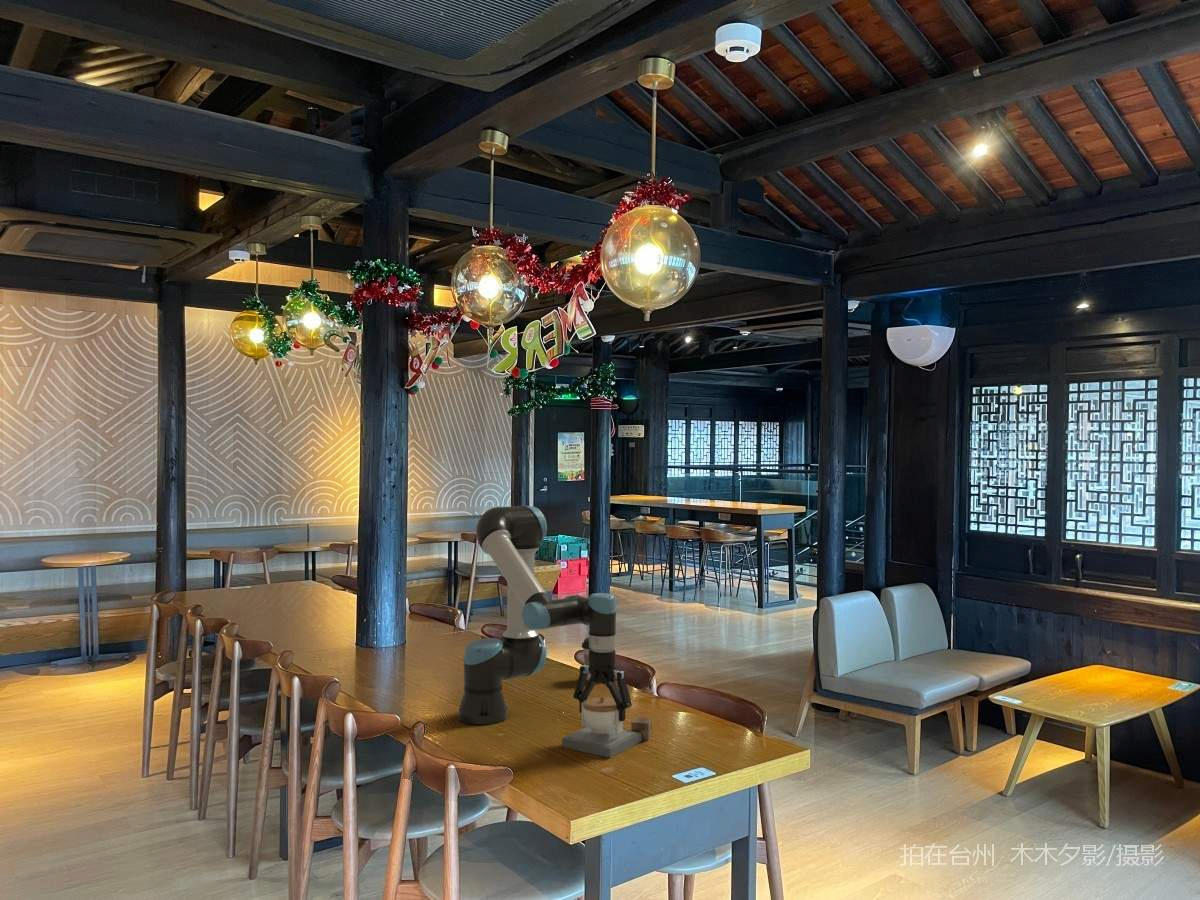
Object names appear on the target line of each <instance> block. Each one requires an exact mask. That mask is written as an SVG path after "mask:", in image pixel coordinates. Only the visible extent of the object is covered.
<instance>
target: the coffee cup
mask: <svg viewBox="0 0 1200 900" xmlns="http://www.w3.org/2000/svg"><path fill="white" fill-rule="evenodd" d="M581 648H582V651H583V658H584V665H588V666H589V665H590V663H589V651H590V650H591V649H590V648H589V636H588V637H586V638H584V640H583V642H582V643H581ZM590 677H591V674H590V672H588V675H587V679H586V681H587V680H589V679H590Z"/></svg>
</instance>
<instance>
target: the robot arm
mask: <svg viewBox="0 0 1200 900" xmlns="http://www.w3.org/2000/svg"><path fill="white" fill-rule="evenodd" d="M547 532H548V525H547V519H546V517H545V515H544V514H543V513H542V510H541V509H539V508H538V507H535V506H533V505H532V506H531V505H518V506H517V505H516V506H515V505H514V506H495V507H492V508H490V509H488V510H486V511H484V512H483V513H482V515H481V516H480V518H479V519H478V522H477V524H476V529H475V535H476V539H477V543H478V545H479V547H480V548H481V550H482V551H483V553H484V554H486V555H488V556H490V558H491V559H492V561H493V562H494V563H495V565H496V567H497V568H498V570H499V571H500V573H501V574H502V575H503V577H504V580H506V582H507V583H506V584H507V585H506V588H507V593H506V595H507V596H506V598H507V601H506V602H507V603H506V605H507V608H506V609H507V610H506V611H507V612H506V615H507V617H506V618H507V619H506V621H507V624H506V626H507V627H506V630H505V631H503V633H502V634H501V635H502V640H501V639H500V638H498V637H488V638H480V639H477V640H473V641H471V642H469V643H468V644H467V645H465V648H464V655H463V676H464V677H463V696H462V698H461V702H460V705H459V708H458V711H457V718H458V721H459V722H460V723H464V724H467V725H480V726H481V725H492V724H497V723H500V722H503V721H505V720H506V719H507V718H508V716H509V715H508V711H509V710H508V707H507V705H506V701H505V698H504V694H503V681H506V680H512V679H518V678H521V677H524V678H525V677H529V676H531V675H535V674H537V673H539V672H540V671H541V670H542V669H543V668H544V666H545V664H546V660H547V647H546V646H545V644H546V643H545V642H544V640H543V639H542V638H541V637H540V633H539V632H538V631H537V630H545V629H550V628H556V627H565V626H570V625H578V624H579V625H580V624H582V625H586V626H588V637H589V648H590V649H591V650H590V651H589V663H590V665H589V666H588V665H585V664H583V665H581V666H579V676H578V679H577V682H576V686H575V689H574V693H573V699H575V700H578V702H579V710H578V711H579V713H580V714H581V725H580V726H581V727H587V724H586V722H585V719H584V711H583V702H584V701H585V700H587V699H589V696H590V694H591V693H592V691H593V690H594V687H595V686H596V685H597V684H601V685H605V686H606V688H608V690H609V693H610V695H611V698H613V699H614V701H615V703H616V705H617V707H618V709H616V710H615V733H616V734H618V733H620V732H622V731H623V729H624V721H625V720H626V709H628V708H630V707H632V701H631V697H630V692H629V689H628V684H627V681H626V671H625V670H617V669H616V667H615V666H616V661H617V659H616V658H617V657H616V656H617V655H616V654H617V653H616V650H615V649H616V646H617V645H616V644H617V639H616V638H617V637H616V636H617V635H616V631H617V630H616V628H617V627H616V626H617V623H616V622H617V619H616V618H617V606H616V605H617V604H616V597H615V595H614V594H612V593H610V592H609V593H605V592H596V593H591V594H590V595H589V597H584V596H582V595H578V594H577V595H573V594H570V595H566V597H564V598H560V599H559V598H558V599H551V597H550V596H549V595H548V593H547V592H546V591H545V589H544V588H543V587H542V584H541V583H540V582H539V581H538V578H537V577H536V575H535V554H536V552H537V551H538V550H539V549H540V543H541V542H543V541H544V540H545V539H546V536H547ZM588 672H590V674H591V677H590V679H589V680H588V681H587V675H588ZM586 682H587V683H586ZM585 685H586V686H585Z"/></svg>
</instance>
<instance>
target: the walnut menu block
mask: <svg viewBox="0 0 1200 900" xmlns="http://www.w3.org/2000/svg"><path fill="white" fill-rule="evenodd" d="M630 723H631V724H630V731H635V732H640V733H641V741H645V742H649V740H651V738H652V736H653V718H650V717H640V716H639V717H638V716H634V718H633V719H632V720H631V722H630Z"/></svg>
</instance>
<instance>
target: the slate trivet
mask: <svg viewBox="0 0 1200 900" xmlns="http://www.w3.org/2000/svg"><path fill="white" fill-rule="evenodd" d="M641 742H642V740H641V733H640V732H635V731H631V729H630V730H629V729H624V728H623V731H622V732H620V733H618V734H616V733H615V728H614V729H613V731H612V732H610V733H606V734H598V733H594V732H592V731H591V729H590V728H589V727H588V726H587V725H586V726H583V728H581V729H578V730H576V731H573V732H571V733H570V734H568V735H565V736H563V737H561V747H562V748H565V749H570V750H574V751H578V752H582V753H587V754H590V755H596V756H599V757H603V756H605V758H608V757H609V758H608V759H612V758H613V756H614V757H616V756H617V754H618V755H620V754H621V753H623V752H625V751H626V750H629V749H630V748H632V747H634V746H636V745H638V744H640V743H641ZM615 755H616V756H615ZM611 757H612V758H611Z"/></svg>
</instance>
